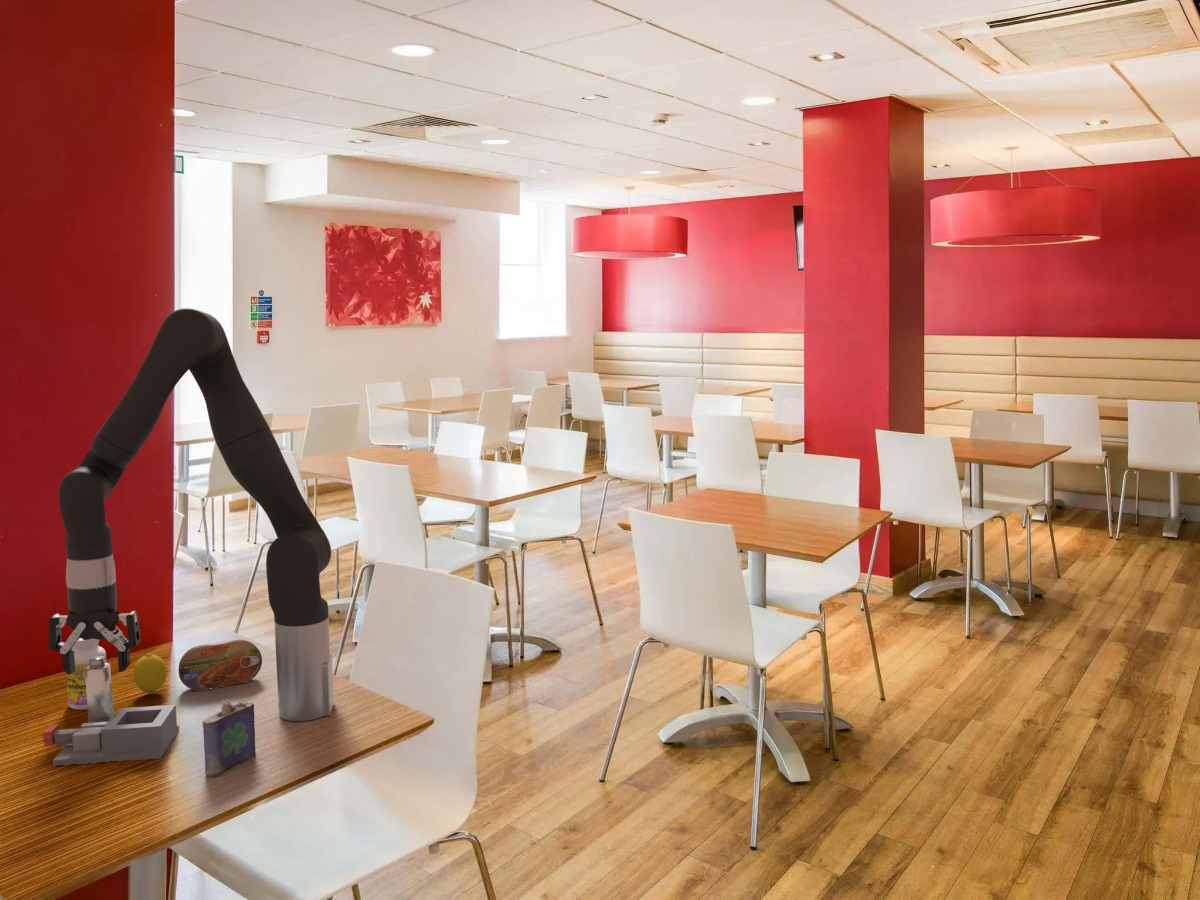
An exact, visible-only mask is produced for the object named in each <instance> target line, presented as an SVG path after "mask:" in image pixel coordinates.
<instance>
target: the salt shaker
mask: <svg viewBox="0 0 1200 900" xmlns="http://www.w3.org/2000/svg"><path fill="white" fill-rule="evenodd" d="M84 669H85V682H86V695H87V708H88V709H87V718H88V719H87V721H88V722H87V723H95V722H108V721H109V720H110V719H111V718H112V716H113V715H114V714H115V712H114V710H115V709H114V700H113V699H114V697H113V687H112V686H113V684H112V673H111V672H112V671H111V664H110V662H109V663H108V662H106V663H105V657H103V656H96V657H92V658H90V659H89V666H87V667H85V668H84Z"/></svg>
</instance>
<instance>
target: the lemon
mask: <svg viewBox="0 0 1200 900" xmlns="http://www.w3.org/2000/svg"><path fill="white" fill-rule="evenodd" d="M166 679H167V669H166V665H165V662H164V660H163V659H162V658H161V657H160V656H158V655H156V654H152V653H150V652H148V653H146V654H145V655H143V656H141V658H139V659H138V660H137V662H136V663H135V666H134V670H133V680H134V683H135V686H136V687H137V688H138V689H139V690H140V691H142V692H145V693H147V694H149V695H154V694H155V692H156V691H158V690H160V689H161V688H162V686H163V685H165V682H166Z"/></svg>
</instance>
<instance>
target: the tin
mask: <svg viewBox="0 0 1200 900" xmlns="http://www.w3.org/2000/svg"><path fill="white" fill-rule="evenodd" d="M262 664H263V656H262V652H261V651H260V649H259V648H258V647H257V646H256V645H255V644H254V643H252V642H251V641H248V640H246V639H233V640H228V641H227V640H226V641H221V642H215V643H209V644H202V645H196V646H193V647H192V648H190V649H188V650H187V651H186V652H185V653H184V654H183V655H182V656H181V659H180V661H179V663H178V677H179V680H180V682H181V684H183V685H184V686H185V687H187V688H188V689H190V690H193V691H197V692H198V691H199V690H201V691H206V690H205V689H208V690H211V689H210V688H213V689H217V688H216V687H219V688H223V687H222V686H225V687H227V686H226V685H231V686H233V685H232V684H237V685H240V684H239V683H243V684H246V683H248V682H250V681H251V680H253V679H254V678H255V677H256V676H257V675H258V674H259V672H260V670H261V668H262ZM245 682H246V683H245Z"/></svg>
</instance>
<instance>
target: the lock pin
mask: <svg viewBox="0 0 1200 900" xmlns="http://www.w3.org/2000/svg"><path fill="white" fill-rule="evenodd" d="M102 728H103V727H92V728H81V727H80V728H68V729H67V728H66V729H60V727H59V724H50V725H48V727H47V728H46V729H45V730H43V732H42V736H43V747H54V746H57V745H58V746H59V745H67V744H73V735H74V733H78V732H92V731H101V729H102Z"/></svg>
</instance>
